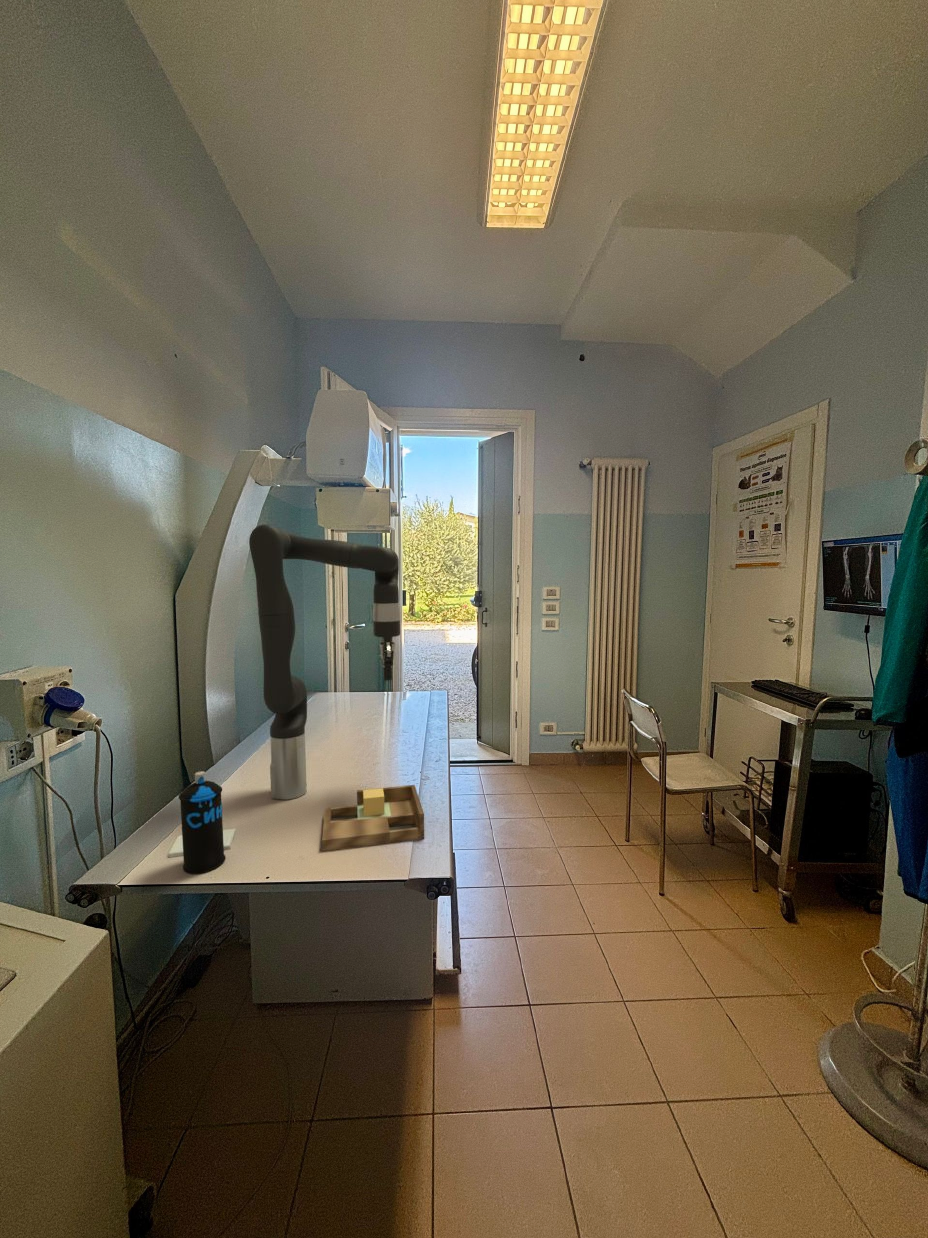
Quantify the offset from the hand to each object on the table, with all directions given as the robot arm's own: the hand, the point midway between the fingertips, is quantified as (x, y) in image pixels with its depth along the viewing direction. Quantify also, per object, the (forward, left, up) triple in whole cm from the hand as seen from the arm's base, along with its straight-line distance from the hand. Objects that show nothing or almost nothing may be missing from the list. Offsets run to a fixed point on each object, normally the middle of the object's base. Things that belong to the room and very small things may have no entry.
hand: (387, 679), depth 143 cm
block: (-6, -18, -30) cm, 35 cm away
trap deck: (-6, -22, -32) cm, 39 cm away
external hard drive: (-44, -20, -33) cm, 59 cm away
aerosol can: (-42, -29, -32) cm, 60 cm away
